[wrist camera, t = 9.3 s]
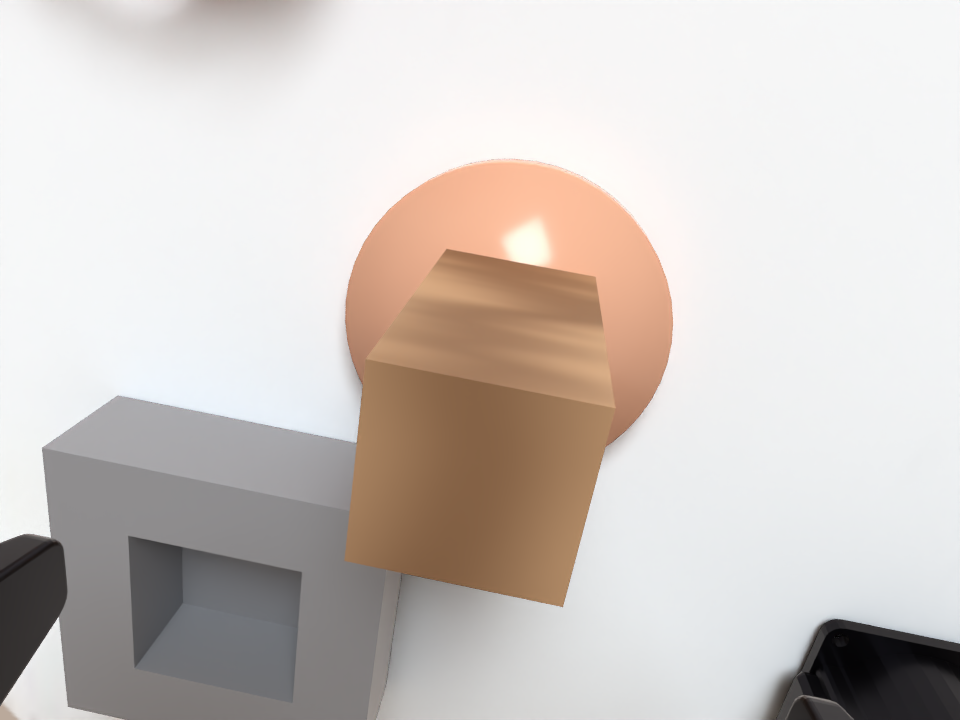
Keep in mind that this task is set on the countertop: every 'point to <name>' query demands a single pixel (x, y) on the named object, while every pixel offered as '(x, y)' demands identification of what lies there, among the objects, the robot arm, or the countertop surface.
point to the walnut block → (483, 429)
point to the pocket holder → (213, 570)
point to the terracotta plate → (523, 260)
